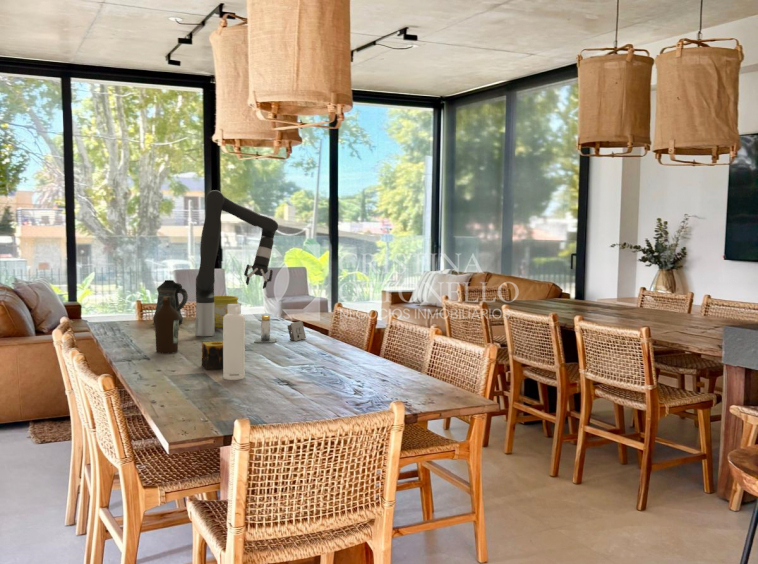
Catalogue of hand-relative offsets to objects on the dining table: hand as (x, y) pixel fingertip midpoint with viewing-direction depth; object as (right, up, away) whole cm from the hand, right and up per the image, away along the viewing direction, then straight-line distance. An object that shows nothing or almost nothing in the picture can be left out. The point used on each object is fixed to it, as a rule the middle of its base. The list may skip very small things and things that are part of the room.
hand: (255, 286), depth 369 cm
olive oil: (-32, -29, -48) cm, 64 cm away
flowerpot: (-25, -23, +35) cm, 48 cm away
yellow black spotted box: (-2, -33, -80) cm, 86 cm away
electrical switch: (+22, -27, -9) cm, 36 cm away
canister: (+8, -26, -16) cm, 32 cm away
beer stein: (-56, -22, +42) cm, 73 cm away
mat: (+8, -27, -16) cm, 32 cm away
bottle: (+9, -34, -98) cm, 104 cm away
